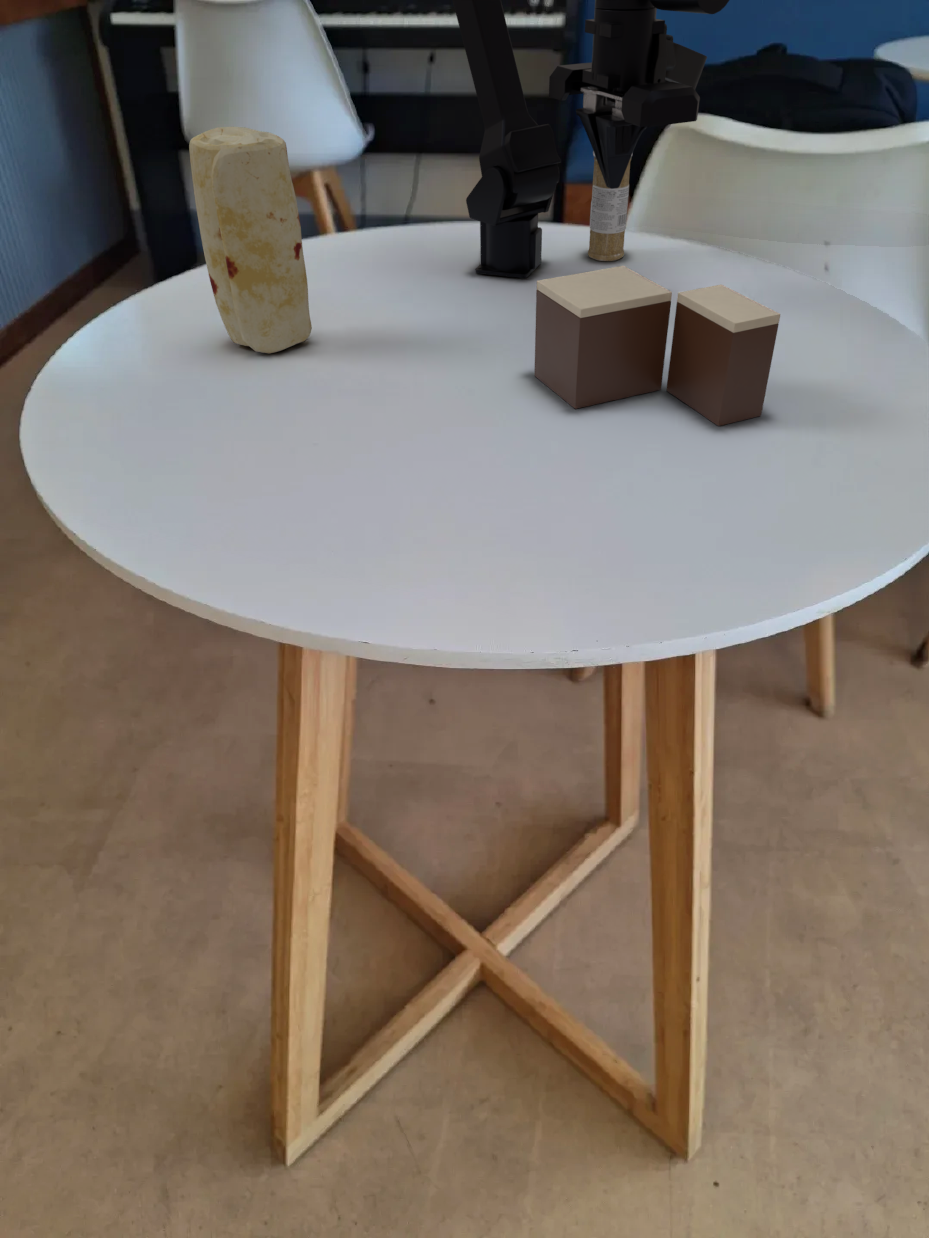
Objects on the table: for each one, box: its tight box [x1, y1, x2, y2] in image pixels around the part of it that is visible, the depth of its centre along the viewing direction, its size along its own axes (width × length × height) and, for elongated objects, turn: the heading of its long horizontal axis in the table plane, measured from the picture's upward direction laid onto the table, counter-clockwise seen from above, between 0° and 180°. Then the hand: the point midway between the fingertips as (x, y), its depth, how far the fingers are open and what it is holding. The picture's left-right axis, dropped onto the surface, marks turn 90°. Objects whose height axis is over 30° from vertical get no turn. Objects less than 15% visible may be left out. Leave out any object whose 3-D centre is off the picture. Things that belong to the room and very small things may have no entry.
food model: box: [188, 126, 313, 355], centre depth 90 cm, size 10×7×20 cm
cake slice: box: [665, 284, 781, 427], centre depth 80 cm, size 8×4×9 cm, turn 24°
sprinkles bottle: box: [587, 150, 634, 262], centre depth 112 cm, size 5×5×14 cm
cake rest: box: [533, 265, 673, 410], centre depth 84 cm, size 8×9×9 cm
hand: (612, 187), depth 96 cm, fingers closed
